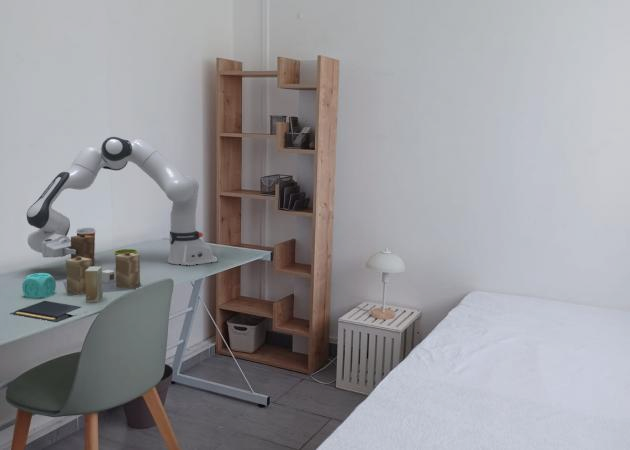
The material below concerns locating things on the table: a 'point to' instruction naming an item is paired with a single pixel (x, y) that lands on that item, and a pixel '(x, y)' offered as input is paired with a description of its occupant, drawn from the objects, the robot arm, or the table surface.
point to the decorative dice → (38, 285)
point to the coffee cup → (87, 233)
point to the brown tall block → (127, 270)
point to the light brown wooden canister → (77, 274)
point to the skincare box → (93, 284)
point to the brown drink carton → (83, 246)
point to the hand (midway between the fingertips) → (84, 250)
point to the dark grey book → (47, 311)
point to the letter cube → (108, 276)
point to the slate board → (105, 288)
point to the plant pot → (125, 251)
